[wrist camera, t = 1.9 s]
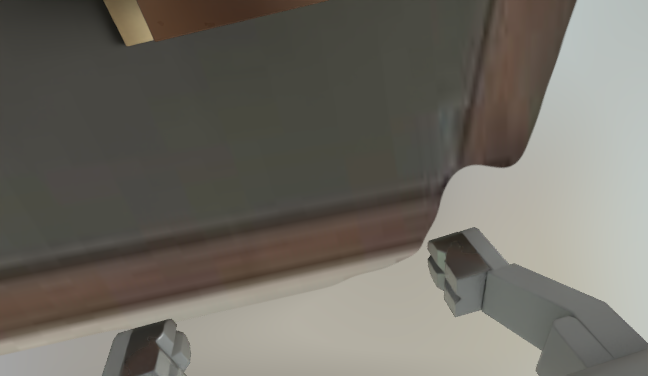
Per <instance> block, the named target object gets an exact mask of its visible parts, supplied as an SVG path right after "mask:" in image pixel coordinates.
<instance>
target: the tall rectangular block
mask: <svg viewBox="0 0 648 376" xmlns="http://www.w3.org/2000/svg"><path fill="white" fill-rule="evenodd" d="M136 1H137V4H138V6H139V8H140V10H141V13H142V15H143V17H144V19H145V21H146V24H147V26H148V28H149V30H150V32H151V35H152V37H153V39H154V41H155V42H157V41H161V40H165V39H170V38H174V37H178V36H182V35H186V34H190V33H195V32H199V31H203V30H207V29H211V28H216V27H220V26H224V25H228V24H232V23H236V22H241V21H245V20H249V19H253V18H257V17H261V16H266V15H270V14H274V13H278V12H282V11H287V10H291V9H295V8H299V7H303V6H307V5H312V4H316V3H320V2H324V1H328V0H136Z"/></svg>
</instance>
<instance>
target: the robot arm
mask: <svg viewBox="0 0 648 376" xmlns="http://www.w3.org/2000/svg"><path fill="white" fill-rule="evenodd" d="M428 251H429V252H430V254H431V255H430V257H429V258H428V267H429V270H430V274H431V276H432V279H433V281H434V283H435V284H436V286H437V287H438V288H440V289H441V290H443V291H444V300H445V301H446V303H447V305H448V306H449V308H450V310H451V311H452V313H453V315H454V316H455V317H458V316H461V315H465V314H468V313H472V312H476V311H479V310H482V312H484V313H485V314H487V315H488V316H490V317H491V318H493V319H495V320H496V321H498V322H499V323H501V324H502V325H504V326H505V327H507V328H508V329H510V330H511V331H513V332H514V333H516V334H518V335H519V336H521V337H522V338H523V339H525V340H527V341H528V342H530V343H531V344H533V345H534V346H536V347H537V348H539V349H540V350H542V353H541V355H540V358H539V361H538V364H537V367H536V372H537V374H538V375H539V376H648V343H647V342H646V341H645V340H644V339H643V338H642V337H641V336H640V335H639V334H638V333H637V332H636V331H635V330H634V329H633V328H632V327H630V326H629V325H628V324H627V323H626V322H625V321H624V320H623V319H622V318H621V317H620V316H619V315H618V314H617V313H616V312H615V311H614V310H613V309H612V308H610V307H609V305H608V304H606V303H605V302H603V301H601V300H598V299H596V298H594V297H592V296H589V295H587V294H585V293H582V292H580V291H577V290H575V289H573V288H570V287H568V286H566V285H563V284H561V283H559V282H556V281H554V280H552V279H550V278H547V277H545V276H543V275H540V274H538V273H536V272H533V271H531V270H528V269H526V268H524V267H522V266H519V265H517V264H510V265H509V263H508V262H507V261H506V260H505V259H504V258H503V257H502V256H501V254H500V253H499V252H498V251H497V250H496V249H495V247H494V246H493V245H492V244H491V243H490V242H489V241H488V240H487V238H486V237H485V236H484V235H483V234H482V233H481V232H480V230H479V229H477V228H475V227H473V228H470V229H467V230H463V231H460V232H456V233H452V234H449V235H446V236H443V237H440V238H437V239H433V240H430V241H429V242H428ZM176 327H177V324H176V323H175V322H174V321H173V320H172V319H168V320H164V321H160V322H157V323H153V324H149V325H146V326H142V327H138V328H135V329H131V330H128V331H124V332H121V333H118V334H117V336H116V337H115V338H114V340H113V343H112V346H111V349H110V352H109V356H108V358H107V362H106V365H105V368H104V371H103V374H102V376H186V374H185V373H184V371H185V370H186V368H187V367H188V365H189V364H190V357H191V351H190V343H189V341H188V339H187V337H186V335H185V334H184V333H183V332H180V331H176Z"/></svg>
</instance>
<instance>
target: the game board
mask: <svg viewBox="0 0 648 376" xmlns="http://www.w3.org/2000/svg"><path fill="white" fill-rule="evenodd" d="M103 1H104V3H105V5H106V7H107V9H108V11H109V13H110V15H111V17H112V19H113V21H114V22H115V24H116V26H117V28H118V30H119V32H120V34H121V36H122V38H123V40H124V42H125V44H126V46H131V45H135V44H139V43H143V42H147V41H151V40H154V39H153V37H152V35H151V32H150V30H149V28H148V26H147V24H146V21H145V19H144V17H143V15H142V13H141V10H140V8H139V6H138V4H137V1H136V0H103Z"/></svg>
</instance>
